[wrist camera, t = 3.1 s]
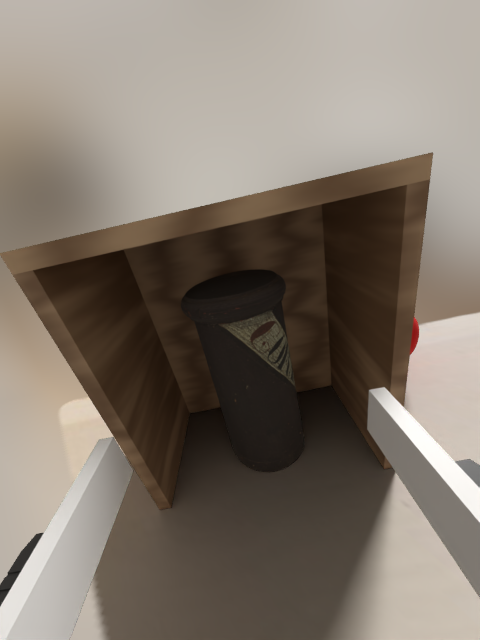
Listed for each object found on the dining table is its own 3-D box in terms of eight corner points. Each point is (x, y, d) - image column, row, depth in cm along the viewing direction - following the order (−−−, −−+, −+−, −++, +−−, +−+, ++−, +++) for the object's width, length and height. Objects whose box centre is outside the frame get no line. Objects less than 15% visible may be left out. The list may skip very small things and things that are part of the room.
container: (307, 481, 22) (280, 285, 14) (221, 473, 25) (156, 302, 17) (304, 410, 30) (285, 257, 22) (238, 409, 32) (199, 271, 24)
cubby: (336, 378, 34) (328, 186, 24) (396, 466, 22) (433, 152, 12) (183, 408, 35) (111, 236, 24) (159, 509, 23) (-1, 253, 12)
